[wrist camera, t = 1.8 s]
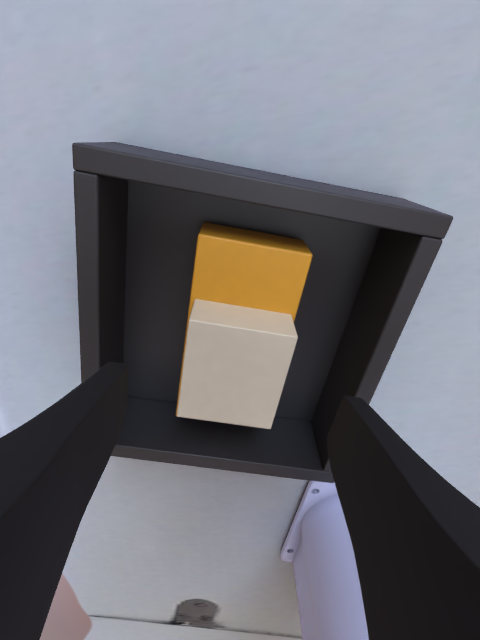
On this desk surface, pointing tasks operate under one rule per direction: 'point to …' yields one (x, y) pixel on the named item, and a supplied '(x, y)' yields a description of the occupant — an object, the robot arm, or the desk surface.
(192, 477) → the desk surface
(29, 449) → the robot arm
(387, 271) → the storage box
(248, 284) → the two-tone block
